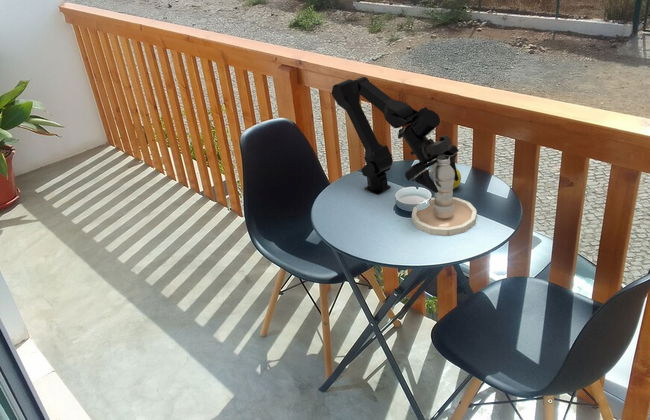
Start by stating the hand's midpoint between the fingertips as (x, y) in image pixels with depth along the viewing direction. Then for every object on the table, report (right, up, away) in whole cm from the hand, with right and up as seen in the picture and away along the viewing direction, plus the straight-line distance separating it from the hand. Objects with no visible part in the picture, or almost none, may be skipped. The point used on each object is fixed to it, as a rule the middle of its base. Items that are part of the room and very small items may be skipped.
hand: (447, 186), depth 176 cm
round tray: (0, -9, +7) cm, 12 cm away
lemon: (+6, 0, +22) cm, 22 cm away
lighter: (-1, +2, +27) cm, 27 cm away
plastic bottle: (0, -9, +7) cm, 11 cm away
